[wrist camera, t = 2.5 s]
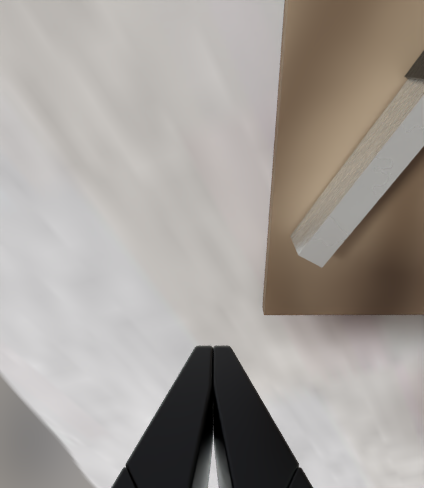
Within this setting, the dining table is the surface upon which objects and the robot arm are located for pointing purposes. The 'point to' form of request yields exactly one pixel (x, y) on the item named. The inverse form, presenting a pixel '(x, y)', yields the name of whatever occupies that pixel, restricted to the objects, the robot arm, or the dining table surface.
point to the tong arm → (366, 172)
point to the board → (343, 158)
